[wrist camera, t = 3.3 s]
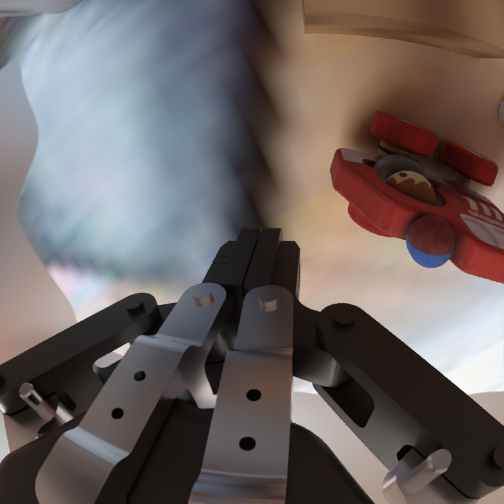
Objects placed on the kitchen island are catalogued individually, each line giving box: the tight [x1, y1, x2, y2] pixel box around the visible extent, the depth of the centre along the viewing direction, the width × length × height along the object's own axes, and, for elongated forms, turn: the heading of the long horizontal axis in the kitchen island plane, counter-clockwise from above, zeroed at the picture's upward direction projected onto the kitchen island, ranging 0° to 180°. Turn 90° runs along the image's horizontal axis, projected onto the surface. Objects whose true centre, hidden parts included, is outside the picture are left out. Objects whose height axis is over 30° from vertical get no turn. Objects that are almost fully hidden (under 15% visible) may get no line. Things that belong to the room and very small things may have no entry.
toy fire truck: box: [330, 111, 504, 283], centre depth 13 cm, size 7×12×10 cm, turn 81°
